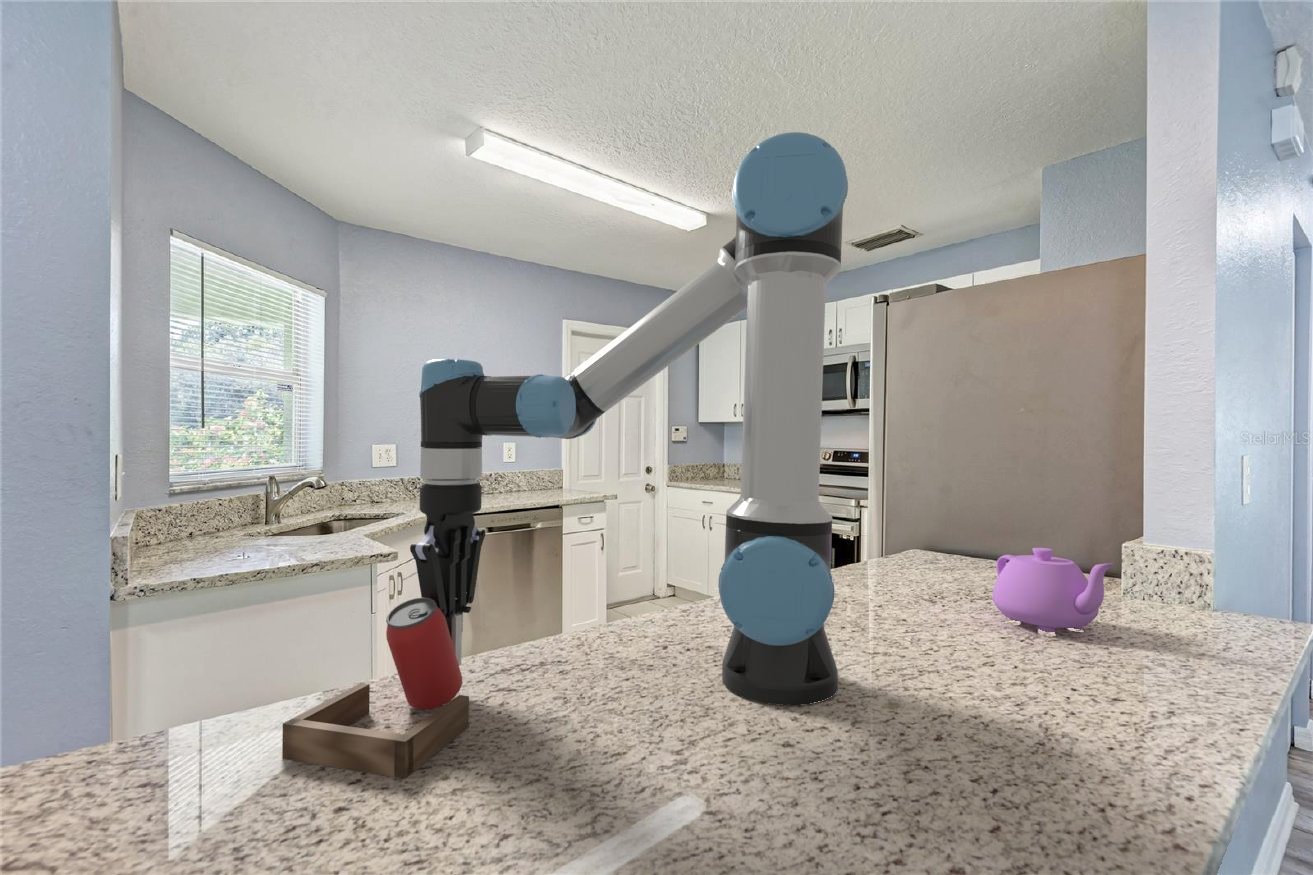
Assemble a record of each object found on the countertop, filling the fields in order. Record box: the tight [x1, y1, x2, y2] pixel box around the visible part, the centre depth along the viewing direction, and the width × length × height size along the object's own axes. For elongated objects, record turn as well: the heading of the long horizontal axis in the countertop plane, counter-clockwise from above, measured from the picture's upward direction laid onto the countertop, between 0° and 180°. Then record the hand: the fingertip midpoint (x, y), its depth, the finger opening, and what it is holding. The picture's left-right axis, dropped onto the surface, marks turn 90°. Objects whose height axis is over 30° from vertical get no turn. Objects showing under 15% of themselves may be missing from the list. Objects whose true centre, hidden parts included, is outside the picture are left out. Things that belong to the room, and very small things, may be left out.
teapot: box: [992, 547, 1115, 633], centre depth 105 cm, size 22×16×14 cm
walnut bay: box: [281, 682, 470, 780], centre depth 64 cm, size 14×11×4 cm
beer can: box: [385, 597, 463, 711], centre depth 72 cm, size 7×7×12 cm
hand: (449, 665), depth 77 cm, fingers closed
